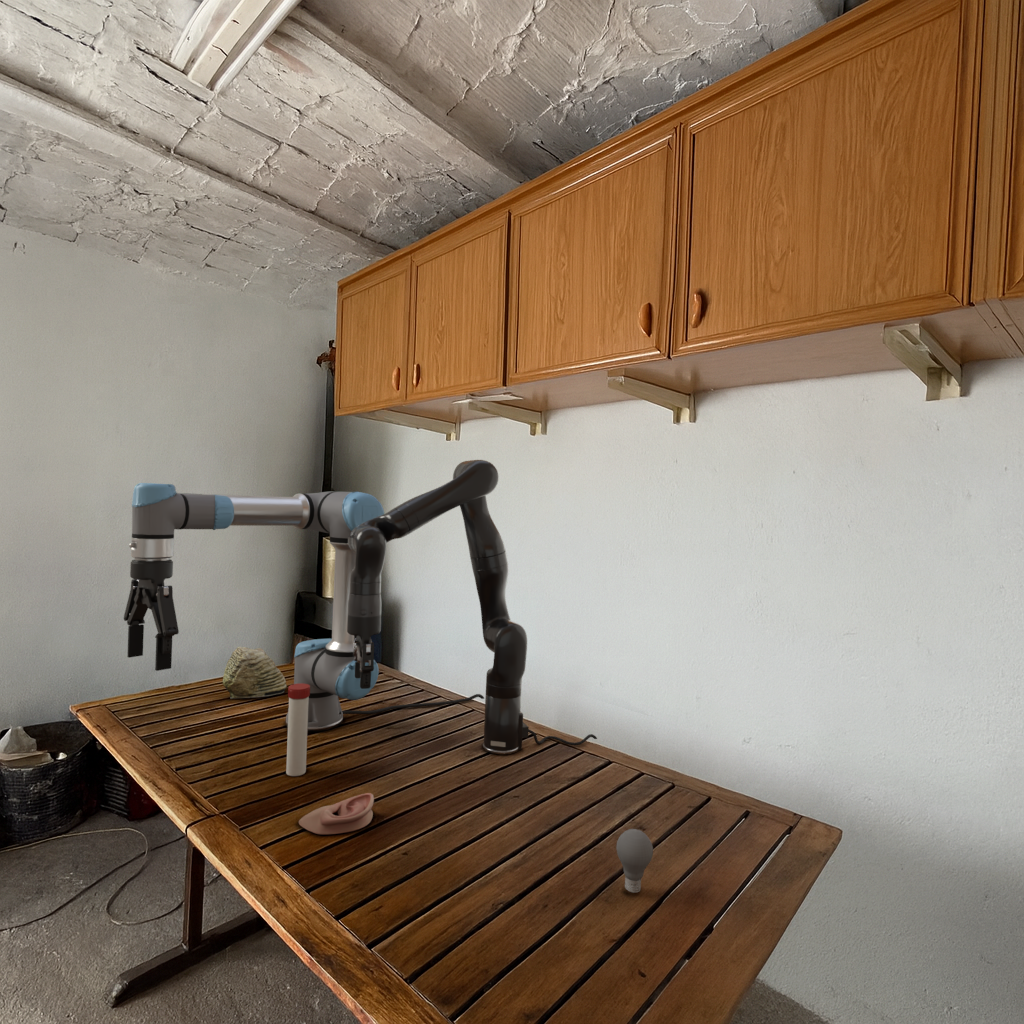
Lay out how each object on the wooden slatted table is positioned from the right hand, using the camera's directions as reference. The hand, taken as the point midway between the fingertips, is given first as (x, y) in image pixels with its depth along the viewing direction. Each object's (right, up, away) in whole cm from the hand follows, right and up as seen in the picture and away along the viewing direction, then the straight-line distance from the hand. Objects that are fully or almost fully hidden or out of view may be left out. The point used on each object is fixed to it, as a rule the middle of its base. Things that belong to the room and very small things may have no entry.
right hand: (362, 682), depth 145 cm
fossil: (-46, -18, +53) cm, 72 cm away
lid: (-14, -1, -1) cm, 14 cm away
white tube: (-15, -20, 0) cm, 25 cm away
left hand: (-40, +8, -16) cm, 44 cm away
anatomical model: (0, -21, -21) cm, 30 cm away
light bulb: (+54, -24, -40) cm, 72 cm away
